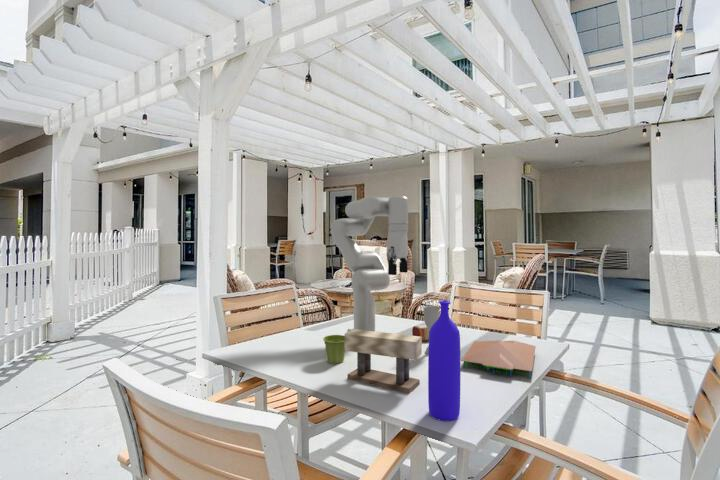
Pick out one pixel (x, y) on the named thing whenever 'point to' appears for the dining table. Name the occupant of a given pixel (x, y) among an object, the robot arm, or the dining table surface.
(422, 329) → the snack package
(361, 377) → the peg stand
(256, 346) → the dining table surface
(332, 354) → the plant pot
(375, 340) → the shelf board
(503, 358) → the house
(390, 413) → the dining table surface
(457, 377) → the bottle
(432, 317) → the chalice
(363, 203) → the robot arm
